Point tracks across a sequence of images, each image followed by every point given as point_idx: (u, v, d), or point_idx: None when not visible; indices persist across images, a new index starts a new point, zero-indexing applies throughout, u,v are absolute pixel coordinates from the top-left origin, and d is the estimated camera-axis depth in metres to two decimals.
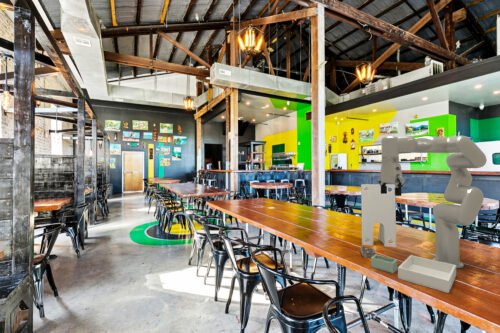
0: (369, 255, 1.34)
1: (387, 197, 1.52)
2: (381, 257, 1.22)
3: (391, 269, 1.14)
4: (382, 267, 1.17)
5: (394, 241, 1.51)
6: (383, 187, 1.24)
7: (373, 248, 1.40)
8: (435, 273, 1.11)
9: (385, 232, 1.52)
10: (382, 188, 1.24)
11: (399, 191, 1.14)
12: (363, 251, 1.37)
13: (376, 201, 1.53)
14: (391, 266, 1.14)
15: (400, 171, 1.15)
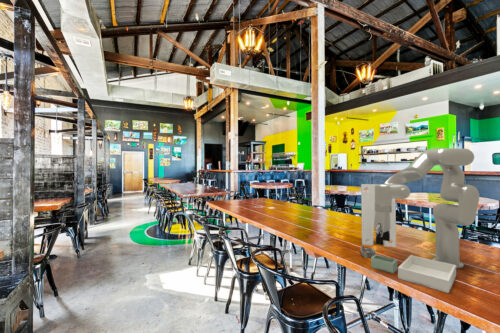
0: (369, 255, 1.34)
1: None
2: (381, 257, 1.22)
3: (391, 269, 1.14)
4: (382, 267, 1.17)
5: (394, 241, 1.51)
6: None
7: (373, 248, 1.41)
8: (435, 273, 1.11)
9: None
10: None
11: None
12: (363, 251, 1.37)
13: None
14: (391, 266, 1.14)
15: None
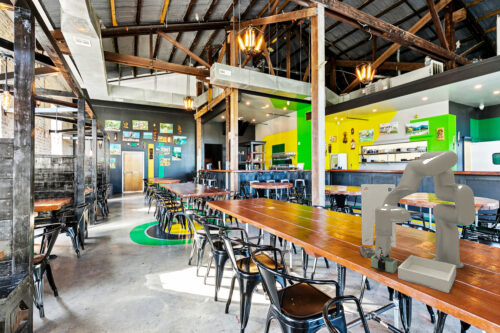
0: (369, 255, 1.34)
1: None
2: (381, 257, 1.22)
3: (391, 269, 1.14)
4: None
5: (394, 241, 1.51)
6: None
7: (372, 248, 1.41)
8: (435, 273, 1.11)
9: None
10: None
11: None
12: (363, 251, 1.37)
13: (376, 201, 1.53)
14: (391, 266, 1.14)
15: None
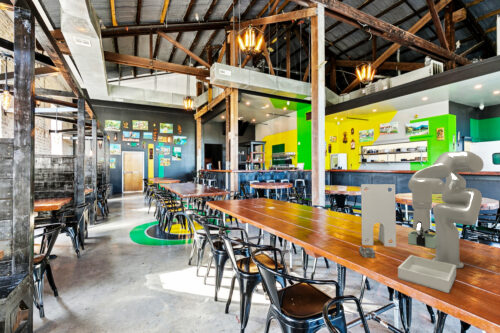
0: (369, 255, 1.34)
1: (387, 197, 1.52)
2: None
3: (432, 244, 1.05)
4: None
5: (394, 241, 1.51)
6: None
7: (371, 248, 1.41)
8: (435, 273, 1.11)
9: (385, 232, 1.52)
10: None
11: None
12: (363, 251, 1.37)
13: (376, 201, 1.53)
14: (432, 241, 1.05)
15: None
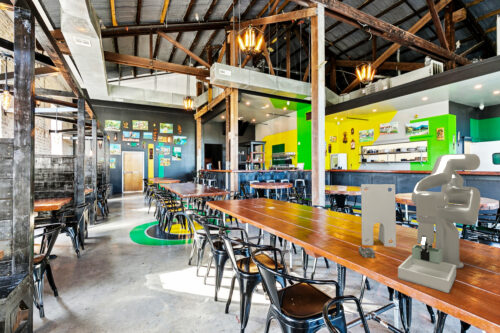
0: (369, 255, 1.34)
1: (387, 197, 1.52)
2: None
3: (436, 259, 1.04)
4: None
5: (394, 241, 1.51)
6: None
7: (371, 248, 1.41)
8: (435, 273, 1.11)
9: (385, 232, 1.52)
10: None
11: None
12: (363, 251, 1.37)
13: (376, 201, 1.53)
14: (437, 256, 1.04)
15: None
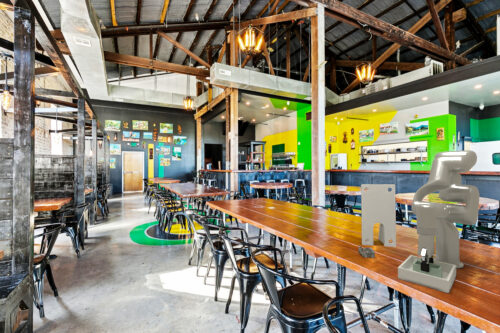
0: (369, 255, 1.34)
1: (387, 197, 1.52)
2: None
3: (437, 276, 1.04)
4: None
5: (394, 241, 1.51)
6: None
7: None
8: None
9: (385, 232, 1.52)
10: None
11: None
12: (362, 251, 1.37)
13: (376, 201, 1.53)
14: (437, 273, 1.04)
15: None
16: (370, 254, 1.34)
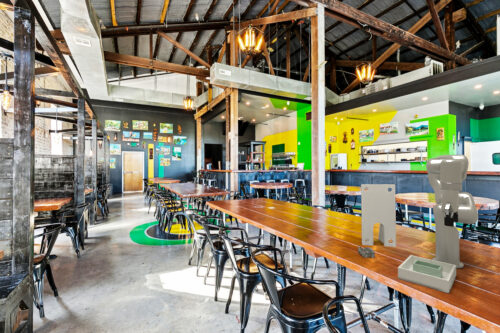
0: (369, 255, 1.34)
1: (387, 197, 1.52)
2: (423, 263, 1.13)
3: (437, 276, 1.04)
4: None
5: (394, 241, 1.51)
6: None
7: None
8: None
9: (385, 232, 1.52)
10: None
11: None
12: (362, 251, 1.37)
13: (376, 201, 1.53)
14: (437, 273, 1.04)
15: None
16: (370, 254, 1.34)
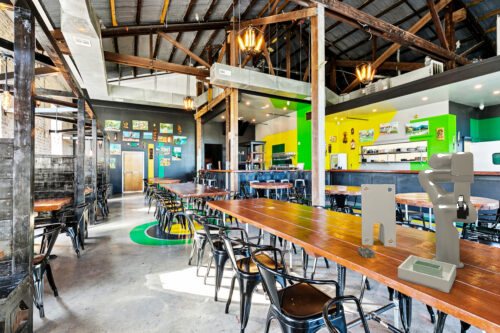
0: (369, 255, 1.34)
1: (387, 197, 1.52)
2: (423, 263, 1.13)
3: (437, 276, 1.04)
4: None
5: (394, 241, 1.51)
6: None
7: None
8: None
9: (385, 232, 1.52)
10: None
11: None
12: (362, 251, 1.37)
13: (376, 201, 1.53)
14: (437, 273, 1.04)
15: None
16: (370, 254, 1.34)
